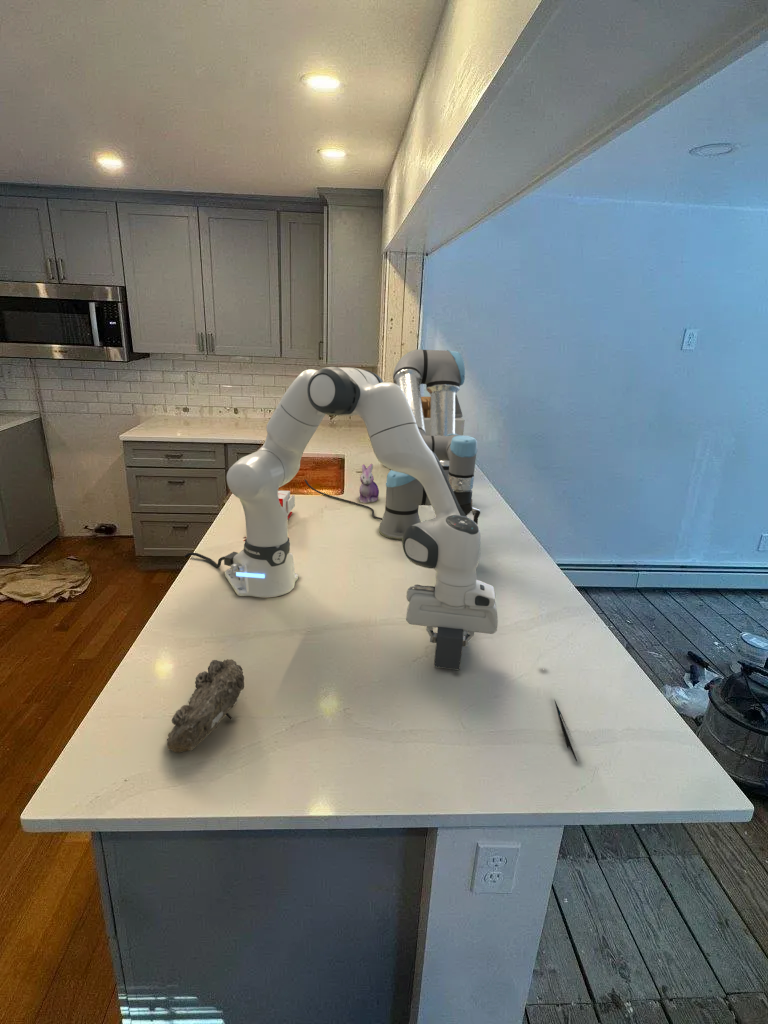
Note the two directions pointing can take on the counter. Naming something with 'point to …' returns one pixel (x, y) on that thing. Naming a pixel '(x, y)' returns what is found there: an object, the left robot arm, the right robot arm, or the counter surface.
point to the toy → (286, 501)
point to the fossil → (206, 705)
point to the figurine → (368, 486)
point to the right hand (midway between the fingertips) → (453, 559)
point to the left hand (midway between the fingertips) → (448, 643)
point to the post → (448, 648)
